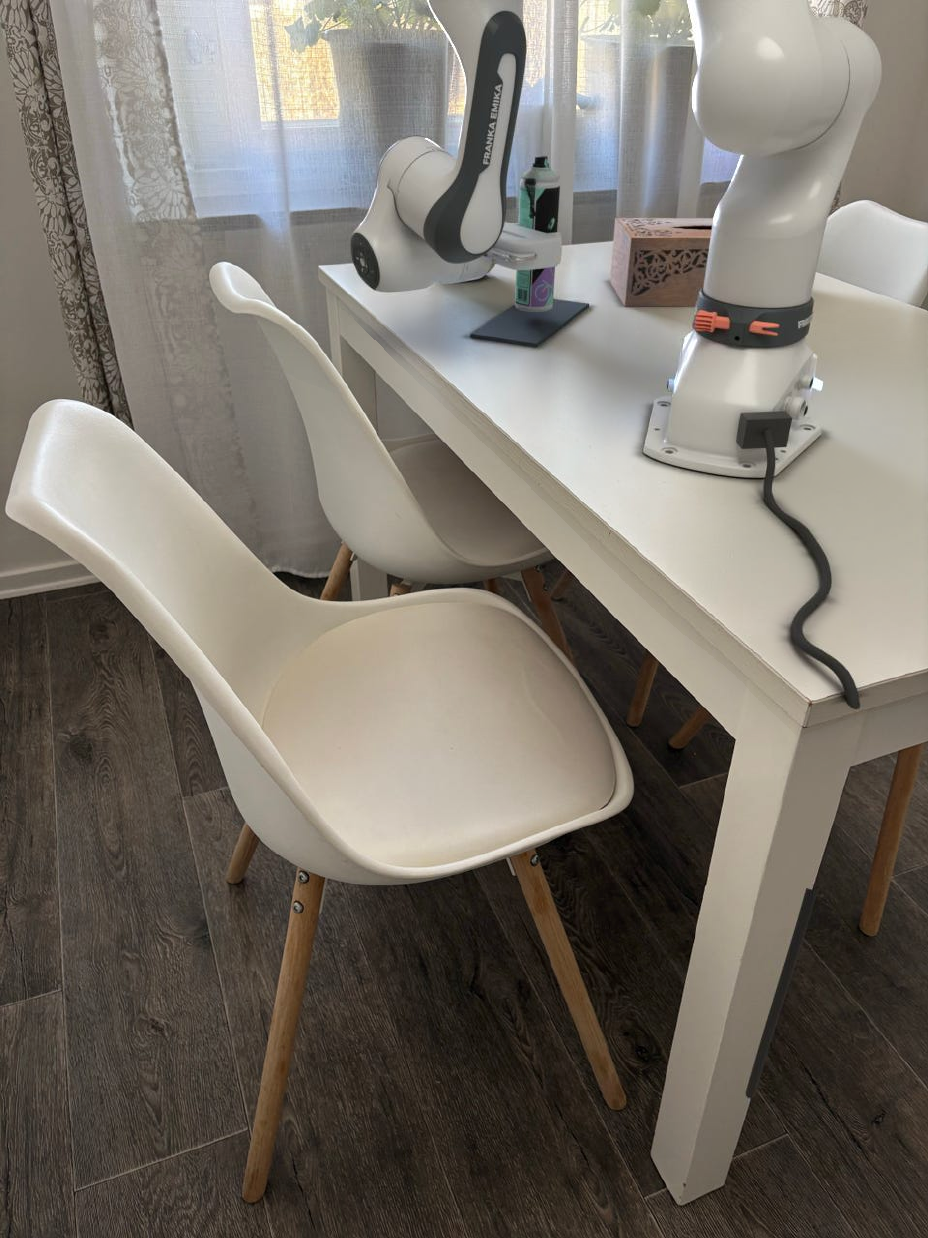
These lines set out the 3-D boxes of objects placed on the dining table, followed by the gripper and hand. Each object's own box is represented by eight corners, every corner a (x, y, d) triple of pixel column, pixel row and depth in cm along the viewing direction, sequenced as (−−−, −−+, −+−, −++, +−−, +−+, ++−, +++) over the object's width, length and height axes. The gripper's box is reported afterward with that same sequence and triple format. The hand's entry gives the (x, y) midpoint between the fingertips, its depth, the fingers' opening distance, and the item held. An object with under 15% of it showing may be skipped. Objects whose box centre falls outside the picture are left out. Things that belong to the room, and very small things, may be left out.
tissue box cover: (763, 281, 162) (774, 217, 157) (790, 305, 150) (803, 237, 145) (609, 281, 161) (615, 217, 156) (624, 306, 149) (631, 237, 144)
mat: (536, 347, 132) (536, 343, 132) (469, 337, 136) (469, 333, 135) (589, 306, 149) (589, 303, 149) (528, 298, 152) (528, 295, 152)
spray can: (550, 313, 139) (559, 159, 128) (512, 310, 140) (518, 157, 129) (554, 302, 143) (564, 153, 132) (518, 300, 144) (524, 152, 133)
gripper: (513, 235, 121) (595, 222, 128) (420, 208, 134) (498, 198, 141) (511, 287, 124) (591, 272, 131) (420, 255, 138) (496, 243, 145)
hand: (542, 233), depth 137 cm, fingers closed on spray can, 5 cm apart
